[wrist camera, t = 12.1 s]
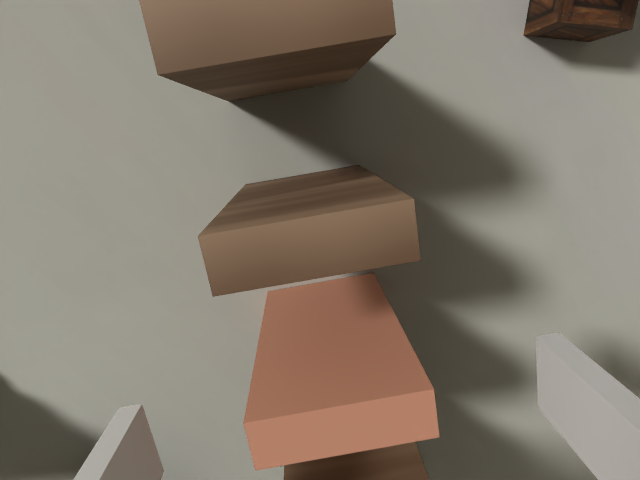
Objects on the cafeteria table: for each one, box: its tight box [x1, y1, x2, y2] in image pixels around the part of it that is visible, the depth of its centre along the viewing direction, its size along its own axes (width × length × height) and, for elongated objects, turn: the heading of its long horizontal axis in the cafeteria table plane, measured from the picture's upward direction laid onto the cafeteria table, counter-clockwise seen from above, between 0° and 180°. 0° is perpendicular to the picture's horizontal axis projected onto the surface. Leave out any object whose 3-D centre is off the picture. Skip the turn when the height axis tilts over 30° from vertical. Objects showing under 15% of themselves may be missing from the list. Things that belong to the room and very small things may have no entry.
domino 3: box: [244, 273, 439, 470], centre depth 19 cm, size 2×6×11 cm, turn 100°
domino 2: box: [198, 165, 421, 297], centre depth 17 cm, size 2×6×11 cm, turn 99°
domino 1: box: [139, 0, 396, 101], centre depth 16 cm, size 2×6×11 cm, turn 100°
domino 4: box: [284, 442, 430, 480], centre depth 20 cm, size 2×6×11 cm, turn 99°
